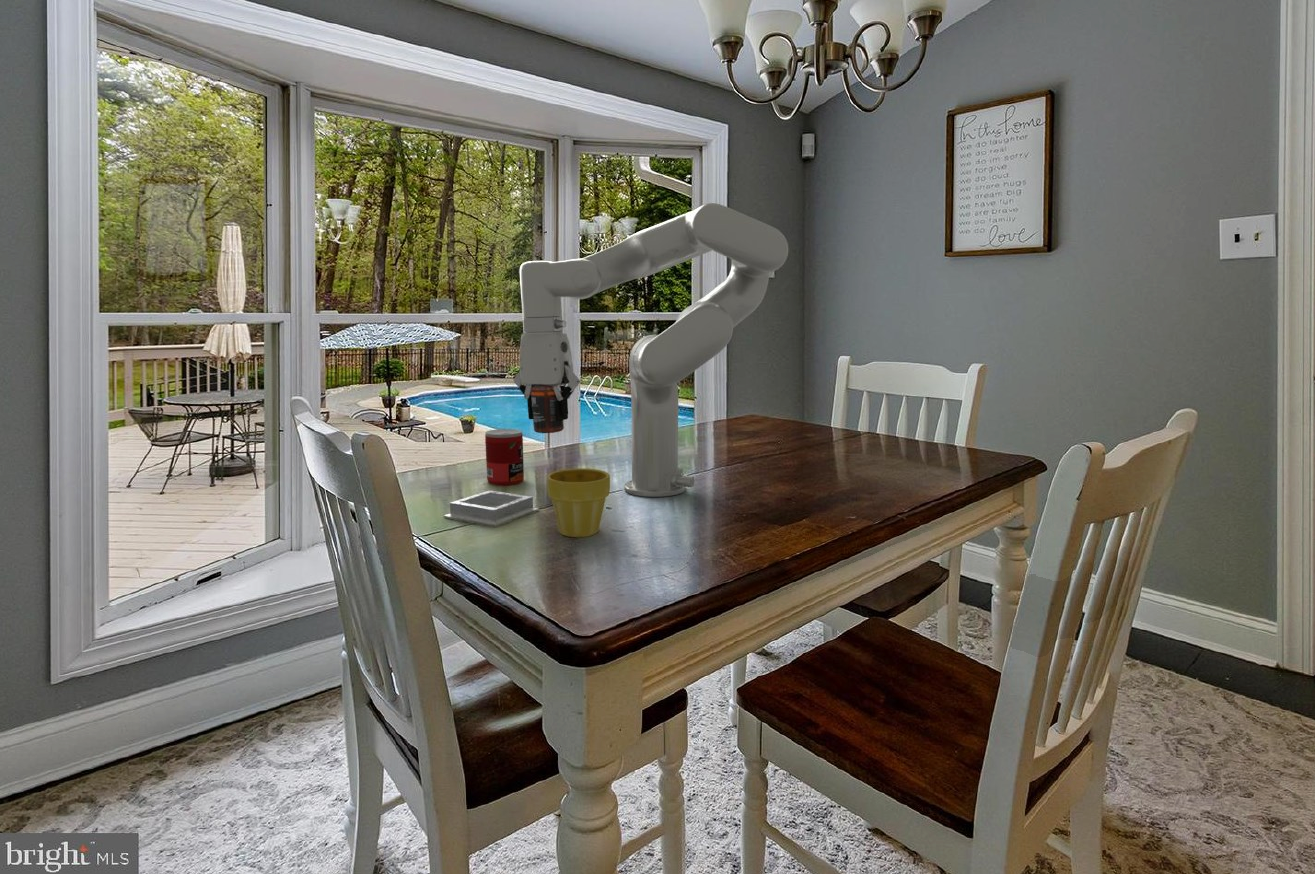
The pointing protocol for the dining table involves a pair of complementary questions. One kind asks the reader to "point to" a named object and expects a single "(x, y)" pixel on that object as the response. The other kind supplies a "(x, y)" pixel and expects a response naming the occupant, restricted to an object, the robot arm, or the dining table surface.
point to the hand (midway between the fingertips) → (548, 418)
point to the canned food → (504, 456)
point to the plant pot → (578, 499)
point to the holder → (491, 508)
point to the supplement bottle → (545, 410)
